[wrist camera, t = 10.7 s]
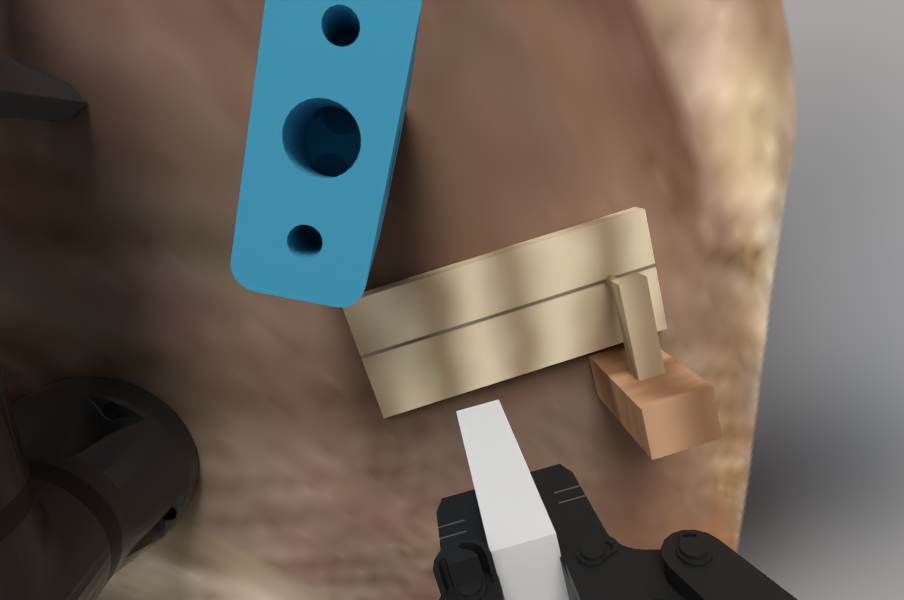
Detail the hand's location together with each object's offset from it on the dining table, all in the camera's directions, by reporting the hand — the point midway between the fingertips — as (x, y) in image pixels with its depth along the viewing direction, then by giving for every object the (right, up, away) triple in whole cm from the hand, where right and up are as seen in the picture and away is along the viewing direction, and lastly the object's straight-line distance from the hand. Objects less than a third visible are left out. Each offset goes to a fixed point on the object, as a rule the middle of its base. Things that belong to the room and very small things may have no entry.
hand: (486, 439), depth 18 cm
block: (-8, +16, +20) cm, 27 cm away
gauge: (+12, +2, +25) cm, 28 cm away
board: (+3, +4, +24) cm, 24 cm away
